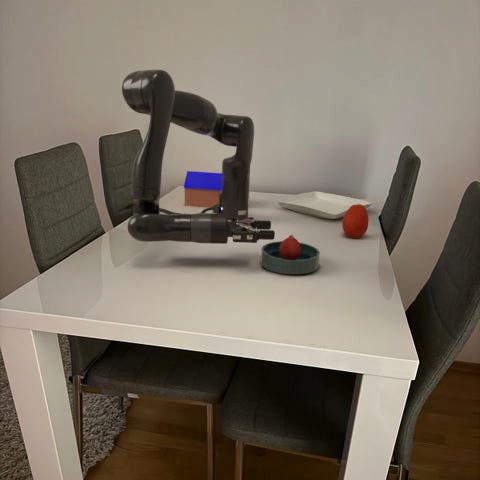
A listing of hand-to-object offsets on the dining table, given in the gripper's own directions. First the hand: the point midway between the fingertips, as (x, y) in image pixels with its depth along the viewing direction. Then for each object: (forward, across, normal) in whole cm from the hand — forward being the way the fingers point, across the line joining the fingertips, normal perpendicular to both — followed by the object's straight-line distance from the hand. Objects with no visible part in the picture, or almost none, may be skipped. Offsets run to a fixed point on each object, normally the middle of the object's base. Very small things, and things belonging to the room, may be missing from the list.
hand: (272, 229), depth 116 cm
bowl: (+5, 0, +10) cm, 11 cm away
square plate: (+27, +59, +10) cm, 65 cm away
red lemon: (+5, 0, +9) cm, 10 cm away
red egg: (+30, +27, +10) cm, 41 cm away
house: (-16, +65, +10) cm, 68 cm away
